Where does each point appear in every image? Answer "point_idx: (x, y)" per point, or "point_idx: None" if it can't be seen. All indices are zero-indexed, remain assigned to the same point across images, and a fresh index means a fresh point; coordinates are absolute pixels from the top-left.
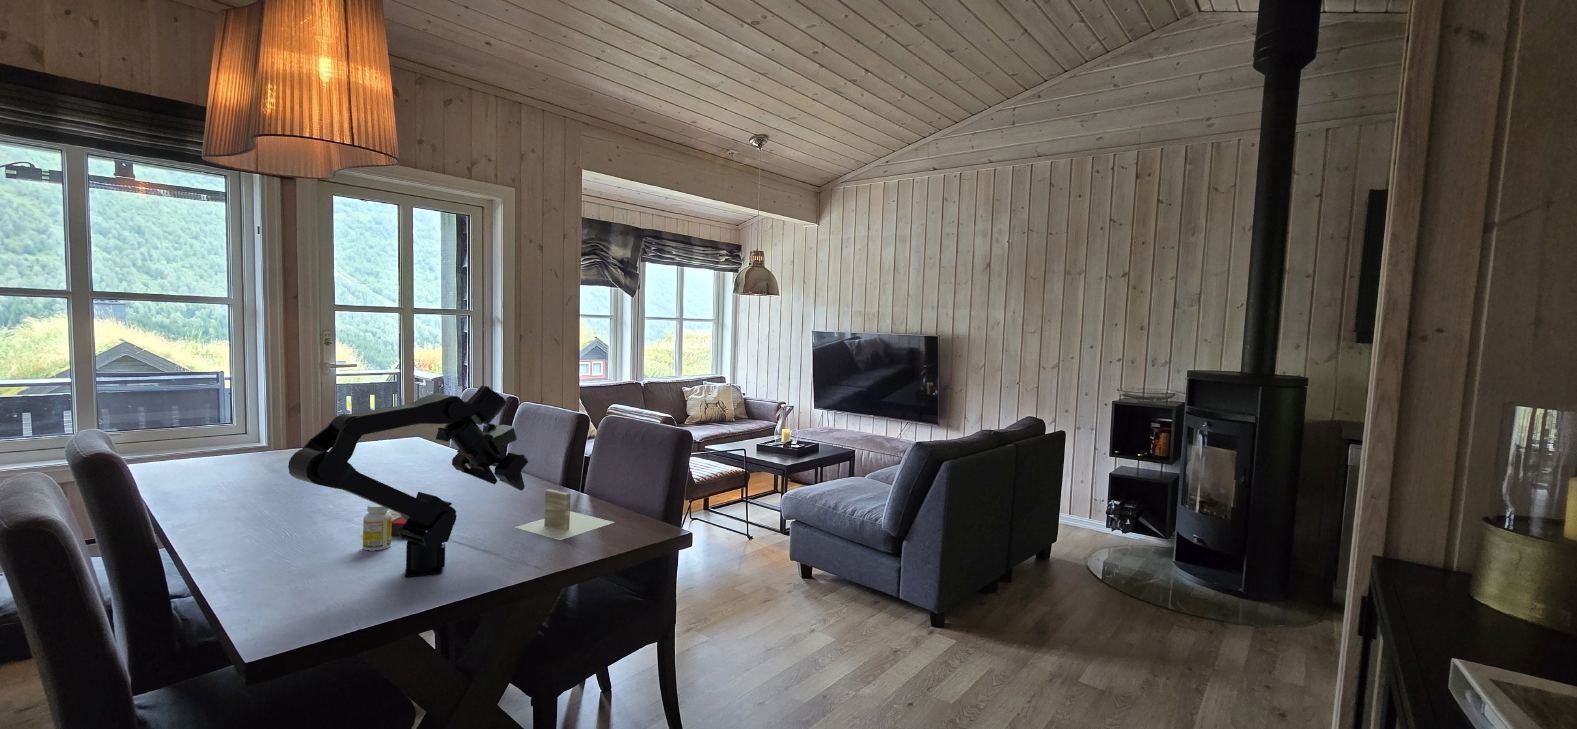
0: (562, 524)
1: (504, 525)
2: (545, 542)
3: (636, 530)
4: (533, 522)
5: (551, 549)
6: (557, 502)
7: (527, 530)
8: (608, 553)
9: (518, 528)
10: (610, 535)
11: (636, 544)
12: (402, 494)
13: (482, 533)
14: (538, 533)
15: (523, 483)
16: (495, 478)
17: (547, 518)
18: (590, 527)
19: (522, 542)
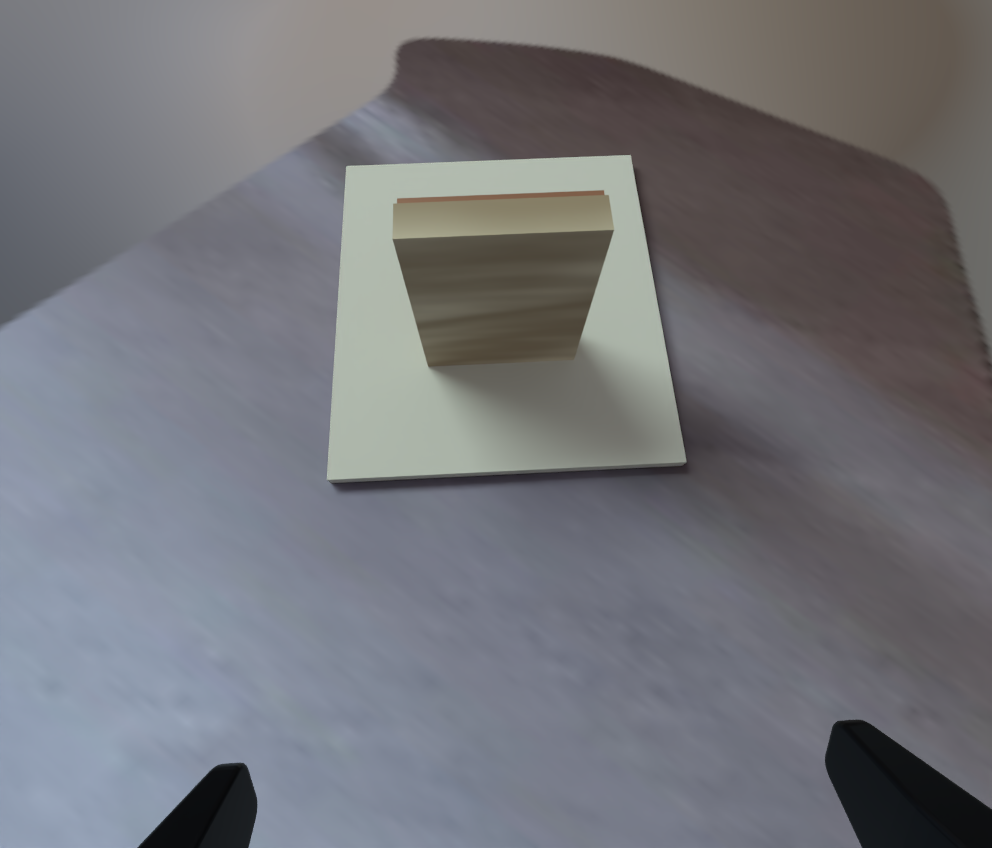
0: (564, 345)
1: (229, 470)
2: (625, 508)
3: (756, 161)
4: (342, 368)
5: (744, 559)
6: (526, 278)
7: (428, 469)
8: (967, 421)
9: (362, 478)
10: (743, 260)
11: (924, 271)
12: None
13: (238, 637)
14: (514, 464)
15: (966, 799)
16: (213, 828)
17: (446, 345)
18: (617, 256)
19: (540, 587)
